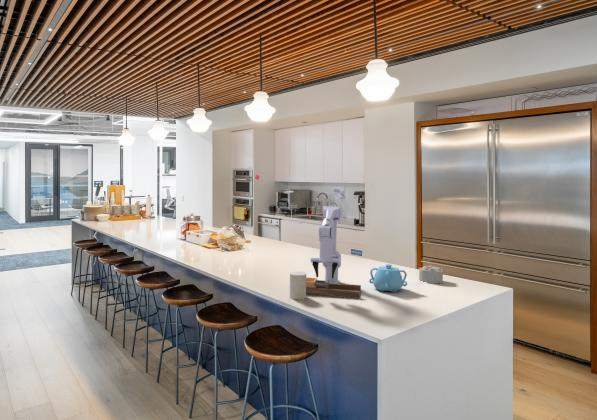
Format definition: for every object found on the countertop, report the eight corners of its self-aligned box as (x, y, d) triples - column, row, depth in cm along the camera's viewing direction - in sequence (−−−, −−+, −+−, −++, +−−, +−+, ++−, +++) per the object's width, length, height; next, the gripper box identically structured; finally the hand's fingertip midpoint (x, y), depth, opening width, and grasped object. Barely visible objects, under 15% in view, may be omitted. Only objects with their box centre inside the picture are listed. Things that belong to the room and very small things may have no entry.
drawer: (300, 286, 227) (300, 276, 226) (329, 288, 224) (329, 278, 223) (296, 290, 218) (297, 280, 218) (327, 292, 215) (327, 282, 215)
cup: (291, 300, 205) (292, 275, 204) (287, 295, 213) (288, 272, 212) (307, 298, 208) (308, 274, 207) (303, 294, 215) (303, 271, 214)
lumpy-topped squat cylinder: (442, 284, 240) (443, 269, 239) (418, 282, 243) (419, 267, 242) (441, 280, 250) (442, 265, 249) (418, 278, 253) (419, 264, 252)
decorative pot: (391, 284, 238) (392, 260, 237) (409, 292, 223) (410, 266, 222) (366, 287, 231) (367, 262, 230) (383, 295, 217) (384, 268, 216)
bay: (297, 287, 229) (297, 274, 229) (360, 291, 223) (361, 278, 222) (292, 293, 217) (292, 280, 216) (359, 298, 210) (359, 284, 209)
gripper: (309, 250, 206) (309, 278, 208) (339, 252, 203) (338, 280, 205) (312, 248, 213) (311, 275, 214) (340, 249, 210) (340, 276, 212)
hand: (324, 277), depth 210 cm, fingers open, 7 cm apart
